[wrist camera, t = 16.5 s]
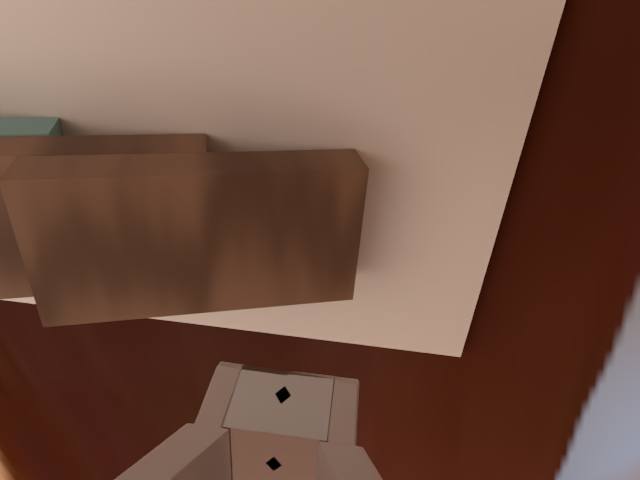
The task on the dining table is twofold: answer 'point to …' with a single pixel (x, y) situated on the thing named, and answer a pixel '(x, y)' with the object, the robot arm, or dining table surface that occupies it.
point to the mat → (317, 123)
